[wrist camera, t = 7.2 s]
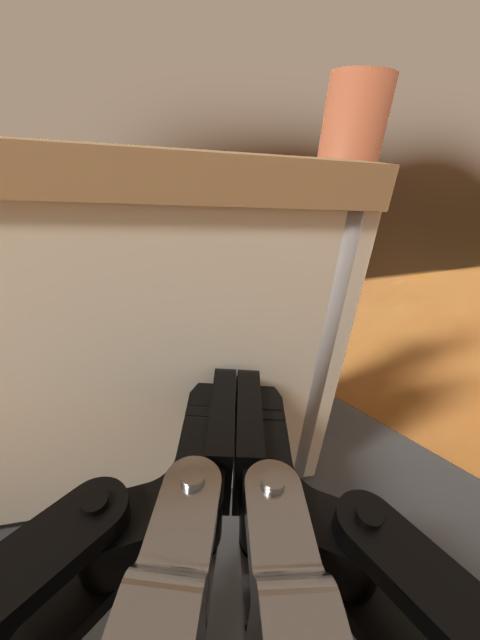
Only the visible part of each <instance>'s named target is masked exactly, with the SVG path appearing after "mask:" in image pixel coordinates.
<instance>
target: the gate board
mask: <svg viewBox="0 0 480 640" xmlns="http://www.w3.org/2000/svg"><path fill="white" fill-rule="evenodd" d="M398 75H399V72H398V71H397V70H395V69H391V68H387V67H379V66H345V67H339V68H335V69H333V70H331V74H330V79H329V86H328V92H327V98H326V105H325V111H324V118H323V124H322V131H321V137H320V143H319V149H318V156H317V157H320V158H334V159H349V160H362V161H371V162H378V160H379V156H380V151H381V147H382V143H383V139H384V134H385V130H386V126H387V122H388V117H389V113H390V109H391V104H392V100H393V96H394V92H395V88H396V83H397V79H398ZM301 479H302V480H303V481H304V482H305V483H307V484H308V485H309V486H311V487H313V488H314V489H317V490H319V491H321V492H324V493H327V494H330V495H333V496H336V497H338V498H340V497H341V496H342V495H343V494H344V493H345V492H347V491H350V490H355V489H360V490H366V491H369V492H372V493H374V494H376V495H378V496H379V497H381V498H382V499H383V500H385V501H386V502H387V503H388V504H390V505H391V506H392V507H393V508H394V509H395V510H397V511H398V512H399V513H400V514H401V515H402V516H404V517H405V518H406V519H407V520H408V521H410V522H411V523H412V524H413V525H414V526H415V527H417V528H418V529H419V530H420V531H421V532H422V533H424V534H425V535H426V536H427V537H428V538H430V539H431V540H432V541H433V542H434V543H435V544H437V545H438V546H439V547H440V548H441V549H442V550H444V551H445V552H446V553H447V554H448V555H450V556H451V557H452V558H453V559H454V560H455V561H457V562H458V563H459V564H460V565H461V566H462V567H464V568H465V569H466V570H467V571H468V572H470V573H471V574H472V575H473V576H474V577H475V578H477V579H478V580H479V581H480V479H479V478H477V477H475V476H473V475H472V474H470V473H468V472H466V471H465V470H463V469H461V468H459V467H458V466H456V465H454V464H452V463H451V462H449V461H447V460H445V459H443V458H442V457H440V456H438V455H436V454H435V453H433V452H431V451H429V450H428V449H426V448H424V447H422V446H421V445H419V444H417V443H415V442H414V441H412V440H410V439H408V438H406V437H405V436H403V435H401V434H399V433H398V432H396V431H394V430H392V429H391V428H389V427H387V426H385V425H384V424H382V423H380V422H378V421H377V420H375V419H373V418H371V417H369V416H368V415H366V414H364V413H362V412H361V411H359V410H357V409H355V408H354V407H352V406H350V405H348V404H347V403H345V402H343V401H341V400H340V399H338V398H336V397H334V400H333V404H332V408H331V412H330V416H329V420H328V424H327V428H326V432H325V435H324V439H323V443H322V447H321V451H320V455H319V459H318V463H317V467H316V471H315V474H314V475H313V476H307V477H303V478H301ZM26 522H28V521H24V522H17V523H11V524H5V525H0V541H1V540H2V539H4V538H5V537H7V536H8V535H9V534H11V533H12V532H14V531H15V530H17V529H18V528H19V527H21V526H22V525H24V524H25V523H26ZM238 540H239V516H232V488H231V501H230V514H229V516H222V533H221V540H220V543H219V545H218V552H217V560H216V567H215V575H214V582H213V590H212V597H211V605H210V612H209V620H208V627H207V635H206V640H243V628H242V610H241V593H240V576H239V558H238ZM111 609H112V608H111ZM111 609H110V610H109V611H108V612H107V613H106V614H105V615H104V616H103V617H102V618H101V620H100V621H99V622H98V623H97V624H96V625H95V626H94V627H93V628H92V629H91V630H90V631H89V632H88V633H87V634H86V635H85V636H84V637H83V638H82V640H101V638H102V635H103V632H104V629H105V627H106V624H107V621H108V618H109V615H110V612H111ZM351 634H352V633H351ZM352 637H353V640H356V638H355V637H354V636H353V635H352Z"/></svg>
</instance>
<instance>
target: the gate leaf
mask: <svg viewBox="0 0 480 640" xmlns="http://www.w3.org/2000/svg"><path fill="white" fill-rule="evenodd" d="M399 166H400V165H397V164H389V163H380V162H371V161H362V160H349V159H334V158H320V157H305V156H290V155H275V154H260V153H246V152H245V153H244V152H231V151H217V150H202V149H186V148H171V147H156V146H143V145H128V144H113V143H98V142H84V141H69V140H54V139H40V138H24V137H10V136H0V525H5V524H11V523H17V522H24V521H29V520H31V519H32V518H33V517H35V516H36V515H38V514H39V513H41V512H42V511H43V510H45V509H46V508H48V507H49V506H50V505H52V504H53V503H55V502H56V501H58V500H59V499H60V498H62V497H63V496H65V495H66V494H67V493H69V492H70V491H72V490H73V489H74V488H76V487H77V486H79V485H80V484H82V483H84V482H86V481H88V480H90V479H93V478H97V477H105V476H106V477H113V478H116V479H118V480H120V481H121V482H122V483H123V484H124V485H125V486H126V488H129V487H133V486H137V485H140V484H144V483H148V482H151V481H153V480H155V479H157V478H159V477H161V476H162V475H163V474H165V473H166V472H167V470H168V468H169V467H170V466H171V465H172V464H173V463H174V461H175V457H176V453H177V449H178V444H179V440H180V435H181V430H182V426H183V421H184V418H185V412H186V407H187V403H188V398H189V393H190V392H191V391H192V389H193V388H194V387H195V386H196V385H197V384H198V383H213V380H214V372H215V368H219V369H236V389H237V374H238V369H239V370H258V371H259V372H260V385H261V386H272V387H275V388H276V389H277V391H278V392H279V394H280V395H281V396H282V399H283V405H284V412H285V418H286V424H287V431H288V437H289V443H290V450H291V456H292V462H293V466H294V468H295V471H296V472H297V474H298V475H299V477H300V478H303V477H307V476H313V475H314V474H315V471H316V467H317V463H318V459H319V455H320V451H321V447H322V443H323V439H324V435H325V432H326V428H327V424H328V420H329V416H330V412H331V408H332V404H333V400H334V396H335V392H336V389H337V385H338V381H339V377H340V373H341V369H342V365H343V361H344V357H345V353H346V350H347V346H348V342H349V338H350V334H351V330H352V326H353V322H354V318H355V314H356V311H357V307H358V303H359V299H360V295H361V291H362V287H363V283H364V279H365V275H366V271H367V268H368V263H369V260H370V256H371V252H372V248H373V244H374V240H375V236H376V232H377V228H378V225H379V221H380V217H381V213H382V212H387V211H388V207H389V204H390V200H391V196H392V192H393V188H394V185H395V181H396V177H397V173H398V170H399ZM235 403H236V399H235ZM232 486H233V474H232ZM231 488H232V487H231Z"/></svg>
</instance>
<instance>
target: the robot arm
mask: <svg viewBox="0 0 480 640" xmlns="http://www.w3.org/2000/svg"><path fill="white" fill-rule="evenodd" d="M235 399H236V403H235ZM232 474H233V486H232ZM231 487H232V516H239V540H238V558H239V576H240V593H241V610H242V628H243V640H353V637H352V635H353V636H354V637H355V638H356V640H480V581H479V580H478V579H477V578H475V577H474V576H473V575H472V574H471V573H470V572H468V571H467V570H466V569H465V568H464V567H462V566H461V565H460V564H459V563H458V562H457V561H455V560H454V559H453V558H452V557H451V556H450V555H448V554H447V553H446V552H445V551H444V550H442V549H441V548H440V547H439V546H438V545H437V544H435V543H434V542H433V541H432V540H431V539H430V538H428V537H427V536H426V535H425V534H424V533H422V532H421V531H420V530H419V529H418V528H417V527H415V526H414V525H413V524H412V523H411V522H410V521H408V520H407V519H406V518H405V517H404V516H402V515H401V514H400V513H399V512H398V511H397V510H395V509H394V508H393V507H392V506H391V505H390V504H388V503H387V502H386V501H385V500H383V499H382V498H381V497H379V496H378V495H376V494H374V493H372V492H369V491H366V490H360V489H355V490H350V491H347V492H345V493H344V494H343V495H342V496H341V497H340V498H338V497H336V496H333V495H330V494H327V493H324V492H321V491H319V490H317V489H314V488H313V487H311V486H309V485H308V484H307V483H305V482H304V481H303V480H302V479H301V478H300V477H299V475H298V474H297V472H296V471H295V468H294V466H293V462H292V456H291V450H290V443H289V437H288V431H287V424H286V418H285V412H284V405H283V399H282V396H281V395H280V394H279V392H278V391H277V389H276V388H275V387H272V386H261V385H260V372H259V371H258V370H239V369H238V374H237V389H236V369H219V368H215V372H214V380H213V383H198V384H197V385H196V386H195V387H194V388H193V389H192V391H191V392H190V393H189V398H188V403H187V407H186V412H185V418H184V421H183V426H182V430H181V435H180V440H179V444H178V449H177V453H176V457H175V461H174V463H173V464H172V465H171V466H170V467H169V468H168V470H167V472H166V473H165V474H163V475H162V476H161V477H159V478H157V479H155V480H153V481H151V482H148V483H144V484H140V485H137V486H133V487H129V488H126V486H125V485H124V484H123V483H122V482H121V481H120V480H118V479H116V478H113V477H106V476H105V477H97V478H93V479H90V480H88V481H86V482H84V483H82V484H80V485H79V486H77V487H76V488H74V489H73V490H72V491H70V492H69V493H67V494H66V495H65V496H63V497H62V498H60V499H59V500H58V501H56V502H55V503H53V504H52V505H50V506H49V507H48V508H46V509H45V510H43V511H42V512H41V513H39V514H38V515H36V516H35V517H33V518H32V519H31V520H29V521H28V522H26V523H25V524H24V525H22V526H21V527H19V528H18V529H17V530H15V531H14V532H12V533H11V534H9V535H8V536H7V537H5V538H4V539H2V540H1V541H0V640H82V638H83V637H84V636H85V635H86V634H87V633H88V632H89V631H90V630H91V629H92V628H93V627H94V626H95V625H96V624H97V623H98V622H99V621H100V620H101V618H102V617H103V616H104V615H105V614H106V613H107V612H108V611H109V610H110V609H111V608H112V609H111V612H110V615H109V618H108V621H107V624H106V627H105V629H104V632H103V635H102V638H101V640H206V635H207V627H208V620H209V612H210V605H211V597H212V590H213V582H214V575H215V567H216V560H217V552H218V545H219V543H220V540H221V533H222V516H229V514H230V501H231ZM351 633H352V634H351Z"/></svg>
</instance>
